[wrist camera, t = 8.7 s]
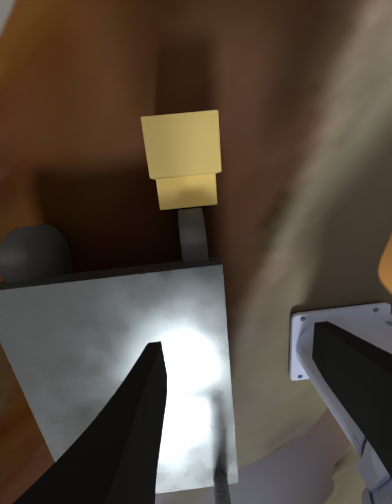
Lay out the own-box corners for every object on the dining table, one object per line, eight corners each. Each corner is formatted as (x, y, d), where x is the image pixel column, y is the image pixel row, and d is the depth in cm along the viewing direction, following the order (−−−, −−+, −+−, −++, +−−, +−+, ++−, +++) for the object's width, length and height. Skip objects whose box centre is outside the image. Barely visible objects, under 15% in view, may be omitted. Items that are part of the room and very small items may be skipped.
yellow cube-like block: (208, 133, 16) (218, 109, 11) (212, 201, 17) (223, 207, 13) (154, 138, 16) (140, 116, 11) (163, 206, 17) (155, 214, 12)
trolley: (207, 203, 17) (354, 314, 2) (225, 415, 24) (291, 784, 9) (32, 223, 17) (-1070, 486, 2) (101, 430, 24) (-36, 835, 9)
